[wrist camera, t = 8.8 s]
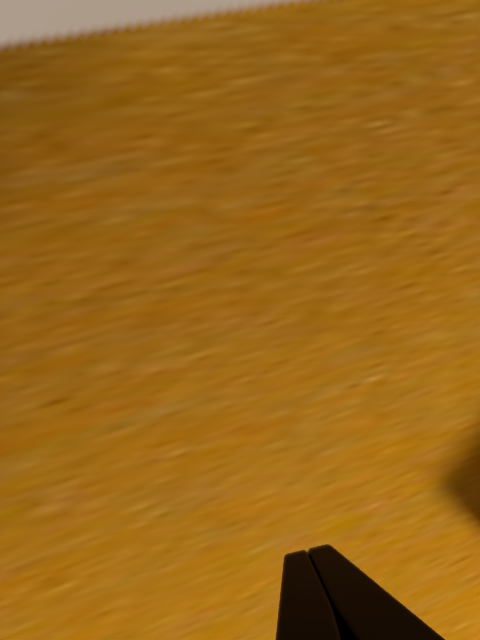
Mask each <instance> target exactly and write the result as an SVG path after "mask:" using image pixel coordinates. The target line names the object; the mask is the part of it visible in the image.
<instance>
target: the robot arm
mask: <svg viewBox="0 0 480 640" xmlns="http://www.w3.org/2000/svg"><path fill="white" fill-rule="evenodd" d="M276 640H445V639H444V638H442V637H441V636H440V635H439V634H438V633H436V632H435V631H434V630H433V629H432V628H430V627H429V626H428V625H427V624H425V623H424V622H423V621H422V620H421V619H419V618H418V617H417V616H416V615H415V614H413V613H412V612H411V611H410V610H408V609H407V608H406V607H405V606H404V605H402V604H401V603H400V602H399V601H398V600H396V599H395V598H394V597H393V596H391V595H390V594H389V593H388V592H387V591H385V590H384V589H383V588H382V587H381V586H379V585H378V584H377V583H376V582H375V581H373V580H372V579H371V578H370V577H368V576H367V575H366V574H365V573H364V572H362V571H361V570H360V569H359V568H358V567H356V566H355V565H354V564H353V563H351V562H350V561H349V560H348V559H347V558H345V557H344V556H343V555H342V554H341V553H339V552H338V551H337V550H336V549H334V548H333V547H332V546H330V545H327V544H326V545H322V546H317V547H313V548H310V549H309V550H308V553H307V552H306V551H305V550H301V551H297V552H293V553H289V554H286V555H285V557H284V563H283V573H282V583H281V593H280V602H279V612H278V622H277V632H276Z"/></svg>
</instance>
